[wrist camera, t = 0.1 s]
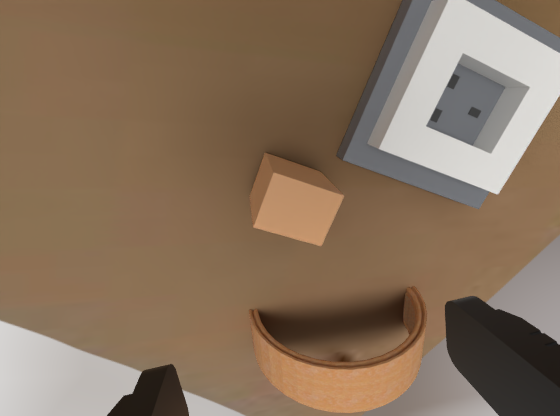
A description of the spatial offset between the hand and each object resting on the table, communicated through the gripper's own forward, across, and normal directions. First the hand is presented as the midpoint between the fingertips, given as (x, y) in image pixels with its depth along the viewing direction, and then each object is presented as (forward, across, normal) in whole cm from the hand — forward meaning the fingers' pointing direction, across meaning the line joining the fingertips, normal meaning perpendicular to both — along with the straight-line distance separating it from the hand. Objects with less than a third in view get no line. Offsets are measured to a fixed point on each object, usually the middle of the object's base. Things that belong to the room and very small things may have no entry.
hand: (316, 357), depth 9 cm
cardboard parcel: (+22, -2, -1) cm, 23 cm away
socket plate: (+22, -18, -6) cm, 29 cm away
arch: (+25, -5, +16) cm, 31 cm away
